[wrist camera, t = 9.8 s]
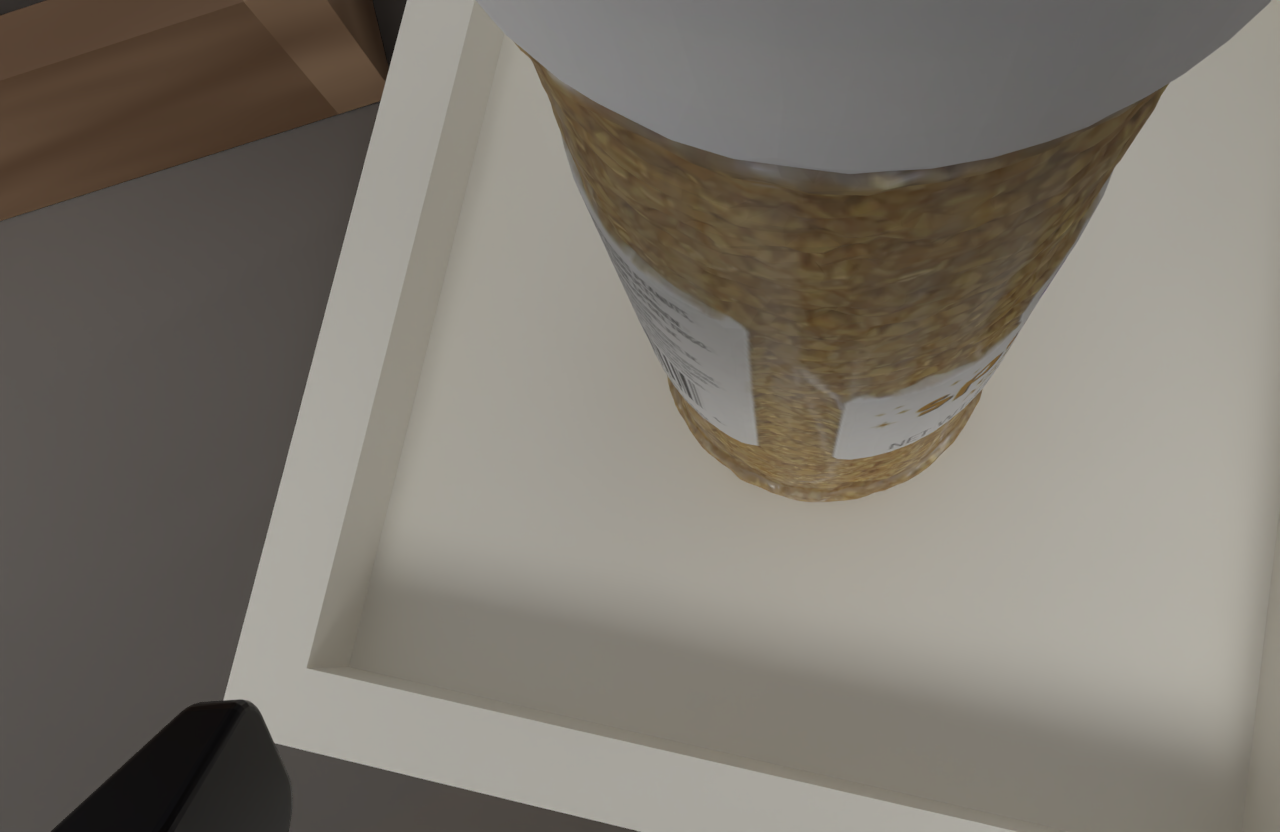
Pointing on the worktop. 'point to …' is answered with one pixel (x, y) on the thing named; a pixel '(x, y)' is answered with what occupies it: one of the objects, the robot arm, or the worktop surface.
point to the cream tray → (782, 511)
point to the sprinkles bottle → (846, 197)
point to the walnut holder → (168, 84)
